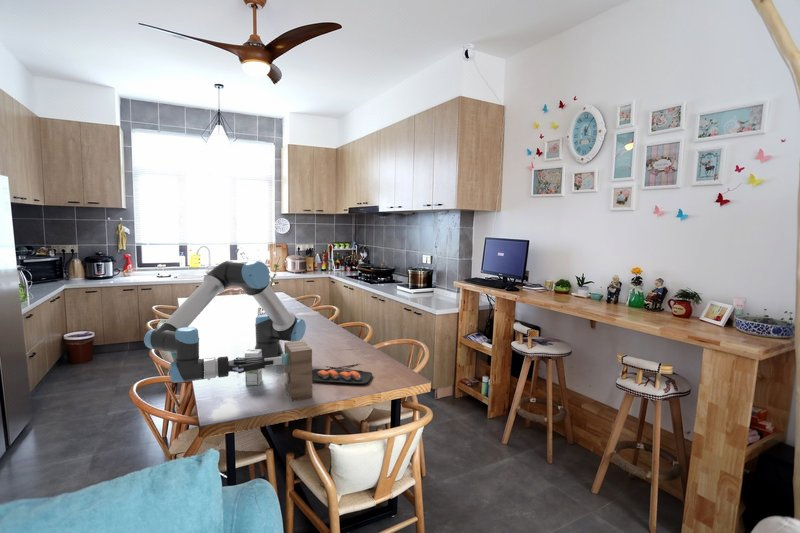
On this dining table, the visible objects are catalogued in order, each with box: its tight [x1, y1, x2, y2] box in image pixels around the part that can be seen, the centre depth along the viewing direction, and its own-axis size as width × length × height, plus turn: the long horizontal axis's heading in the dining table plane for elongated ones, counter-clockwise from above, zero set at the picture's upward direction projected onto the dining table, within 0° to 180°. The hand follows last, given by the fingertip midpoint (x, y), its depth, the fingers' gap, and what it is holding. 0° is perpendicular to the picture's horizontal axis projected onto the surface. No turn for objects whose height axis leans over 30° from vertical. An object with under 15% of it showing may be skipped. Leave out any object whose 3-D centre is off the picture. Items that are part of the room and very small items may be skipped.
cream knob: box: [280, 372, 289, 386], centre depth 169 cm, size 5×10×5 cm, turn 116°
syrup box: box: [244, 348, 263, 386], centre depth 180 cm, size 6×6×14 cm
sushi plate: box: [312, 363, 373, 385], centre depth 195 cm, size 29×30×4 cm
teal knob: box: [281, 353, 289, 367], centre depth 168 cm, size 5×10×5 cm, turn 116°
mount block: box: [284, 339, 313, 402], centre depth 169 cm, size 14×8×20 cm, turn 26°
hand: (281, 360), depth 166 cm, fingers closed
